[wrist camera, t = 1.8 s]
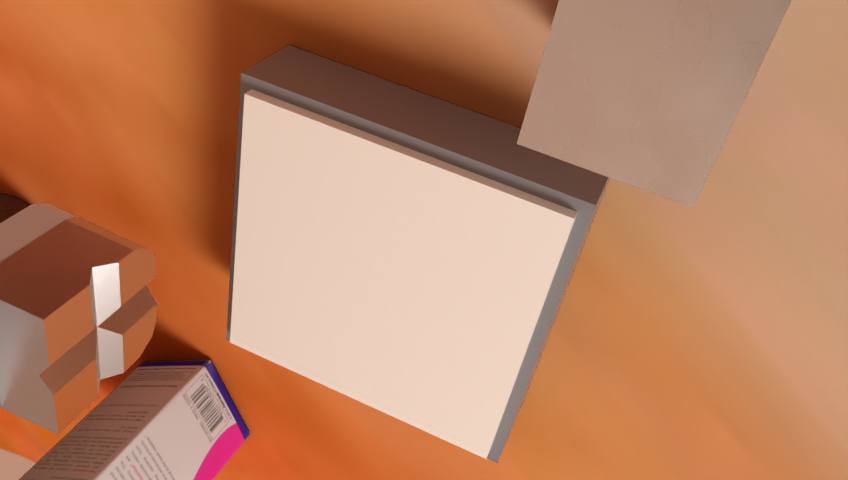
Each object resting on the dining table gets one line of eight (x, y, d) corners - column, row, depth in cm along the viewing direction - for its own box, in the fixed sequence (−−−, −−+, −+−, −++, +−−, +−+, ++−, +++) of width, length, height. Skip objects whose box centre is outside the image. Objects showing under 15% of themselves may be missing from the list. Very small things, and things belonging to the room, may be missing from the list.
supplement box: (139, 360, 48) (-15, 504, 39) (212, 357, 45) (64, 511, 36) (181, 434, 50) (45, 586, 41) (253, 436, 47) (124, 599, 38)
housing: (815, -115, 23) (819, -60, 17) (718, 99, 27) (693, 208, 21) (649, -160, 24) (595, -124, 18) (580, 53, 28) (516, 143, 22)
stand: (615, 162, 30) (593, 212, 27) (519, 410, 38) (494, 471, 35) (288, 44, 33) (233, 77, 29) (265, 299, 41) (220, 345, 38)
